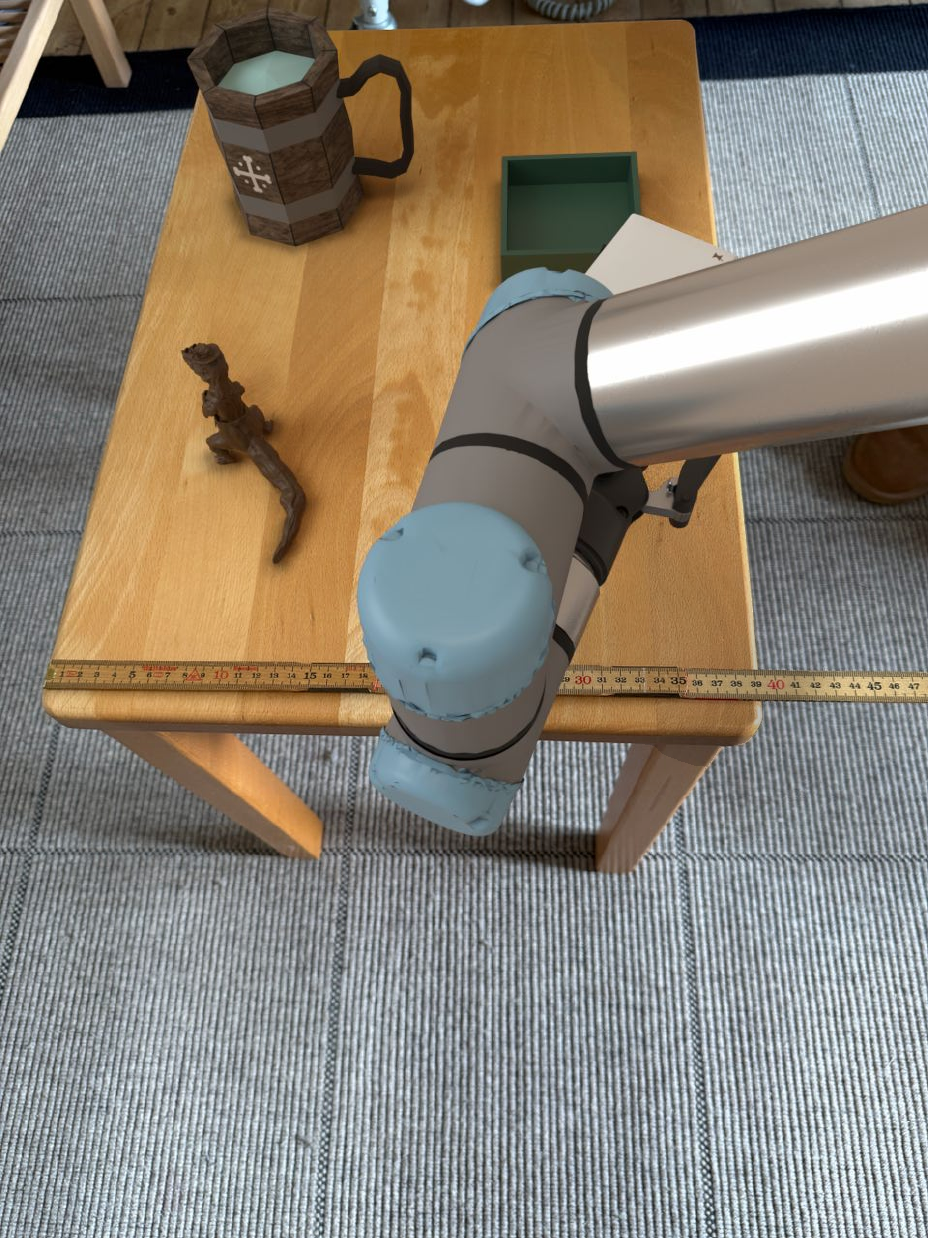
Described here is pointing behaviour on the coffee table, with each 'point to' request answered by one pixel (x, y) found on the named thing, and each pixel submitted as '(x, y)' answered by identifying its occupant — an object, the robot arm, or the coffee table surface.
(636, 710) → the coffee table surface
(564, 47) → the coffee table surface
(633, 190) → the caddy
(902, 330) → the robot arm
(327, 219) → the mug
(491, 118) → the coffee table surface
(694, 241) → the white packaging box
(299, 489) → the brown dinosaur figurine
